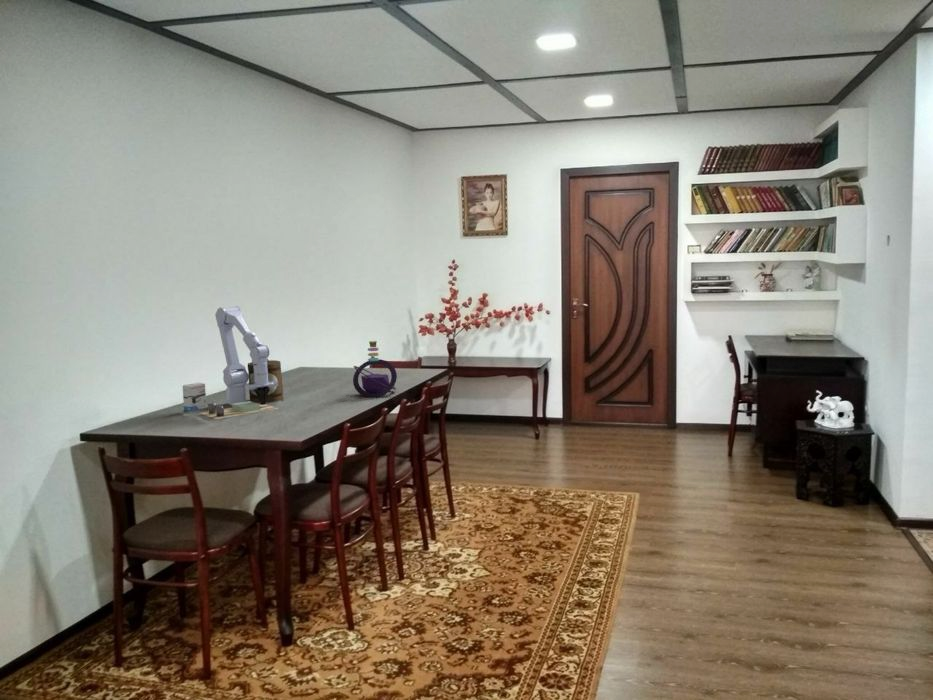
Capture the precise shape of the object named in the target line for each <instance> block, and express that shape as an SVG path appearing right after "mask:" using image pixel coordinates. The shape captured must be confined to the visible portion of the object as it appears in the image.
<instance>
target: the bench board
mask: <svg viewBox="0 0 933 700" xmlns="http://www.w3.org/2000/svg"><path fill="white" fill-rule="evenodd" d="M258 404H260V403H258ZM278 409H280V407H279V408H278V407H276V406H272V405H269V404H265V405H261V404H260V410H255V411H249V412H243V413H242V412H238V411H235V410H232V407H228V408H224V416H219V417H218V416H217V415H216V413H215V414H209V410H208V411H203V412H199V414H200V415H203V416H206V417H209V418H212V419H215V420H219V419H220V420H221V419H225V418H230V417H237V416H242V415H243V416H244V415H248V414H249V415H251V414H254V413H255V414H256V413H259V412H260V413H261V412H265V411H273V410H278Z"/></svg>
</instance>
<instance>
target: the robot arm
mask: <svg viewBox="0 0 933 700" xmlns="http://www.w3.org/2000/svg"><path fill="white" fill-rule="evenodd" d="M243 316H244V313H243V311H242V309H241V308H240V306H237V305H235V306H229V307H228V306H227V307H218V308H217V309H216V312H215V320H216V323H217V327H218V330H219V335H220V338H221V339H220V340H221V343H222V348H223V352H224V356H225V361H226V366H225V368H224V369H223V371H222V372H223V373H222V374H223V378H222V379H223V382H224V384H225V386H226V389H225V402H226V403H225V404H226V405H228V404H229V405H231V406H232V404H233V403H240V402H246V401H247V397H246V396H247V394H246V391H249V390H252V389H254V391H255V392H256V394H257V396H258V398H259V401H260V404H261V405H266V398H267V395H268V393H269V391H270V388H268V387H272V386H278V382H277V381H274V382H268V369H267V359H268V358H269V356H270V349H269V347H268V345H266V344H264V343H262V342H261V340H260V339H259V338H258V336H257V335H256V333H255V332H253V331H251V330H250V328H249V327H248V325H247V323H246V321H245V319H244V318H243ZM234 326H235V328H237V330H238V331H239V333H241V335H242V337H243V338H242V341H243V342H244V344H245V345H246V347H247V349H248V350H249V357H250V358H251V362H252V363H253V365H254V380H255V384H251V385H249V384H248V385H247V383H249V375H248V370H247V369H246V366H245V365H243V364H242V363H241V362H240V359H239V355H238V350H237V345H236V341H235V338H234V337H235V336H234V332H233V328H234ZM262 386H263V387H262Z"/></svg>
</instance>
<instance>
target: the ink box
mask: <svg viewBox="0 0 933 700" xmlns="http://www.w3.org/2000/svg"><path fill="white" fill-rule="evenodd" d="M206 392H207V391H206V383H204V382H194V383H187V384H183V385H182V397H183V410H184V411H189V412H192V411H197V410H200V409H206V408H208V404H207V393H206Z"/></svg>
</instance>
